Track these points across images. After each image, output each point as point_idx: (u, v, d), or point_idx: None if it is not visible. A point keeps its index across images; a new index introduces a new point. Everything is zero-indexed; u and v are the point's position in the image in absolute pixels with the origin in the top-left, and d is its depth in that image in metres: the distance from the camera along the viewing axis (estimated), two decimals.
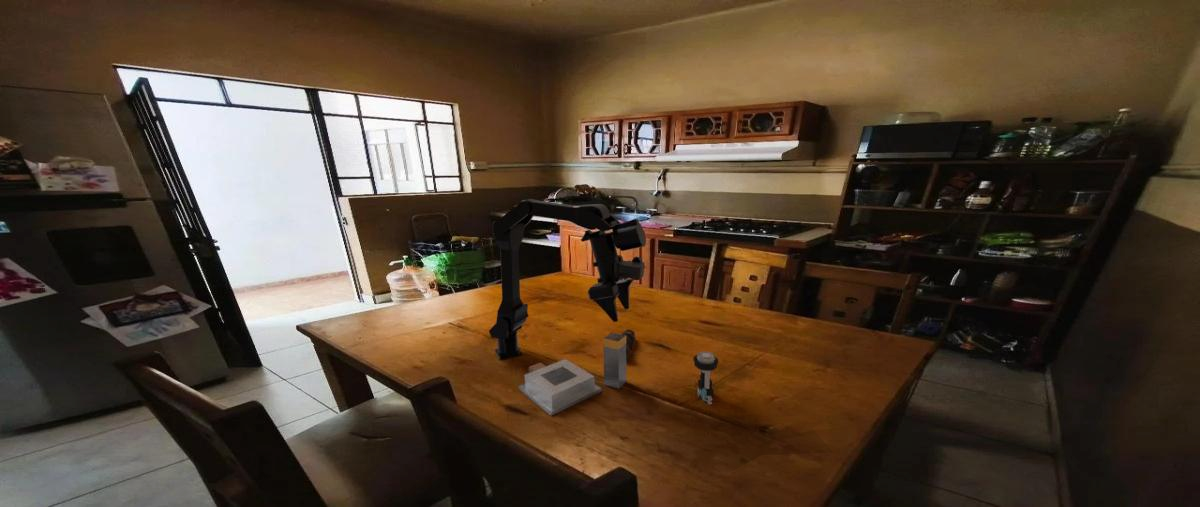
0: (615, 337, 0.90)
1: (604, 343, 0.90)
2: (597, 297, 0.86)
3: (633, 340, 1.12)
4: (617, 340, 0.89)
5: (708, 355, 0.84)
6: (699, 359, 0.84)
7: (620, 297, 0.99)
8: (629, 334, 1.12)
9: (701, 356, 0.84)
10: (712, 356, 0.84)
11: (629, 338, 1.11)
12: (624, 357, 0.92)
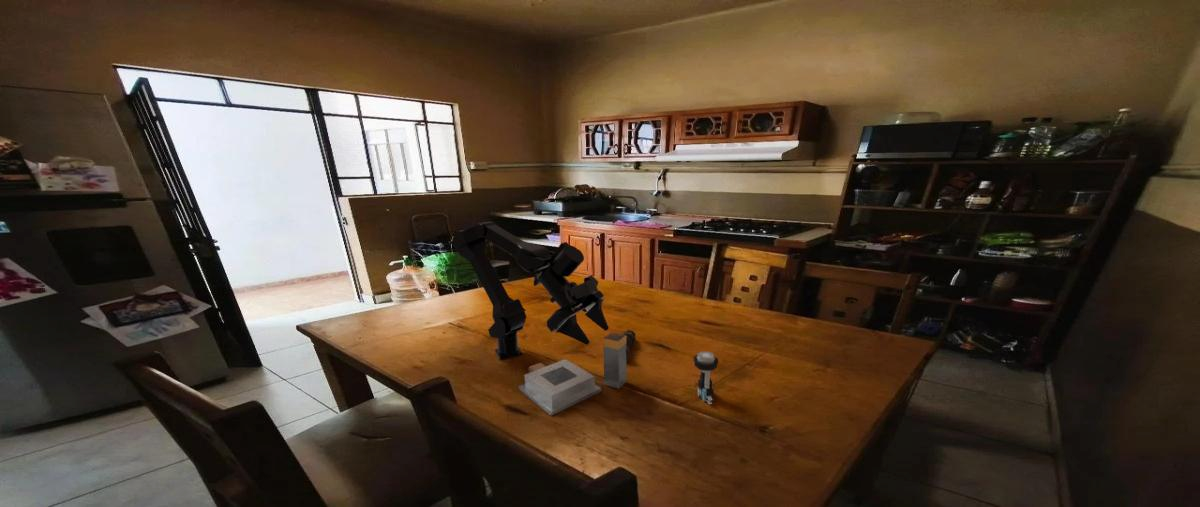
0: (615, 337, 0.90)
1: (604, 343, 0.90)
2: (554, 326, 0.87)
3: (633, 341, 1.11)
4: (617, 340, 0.89)
5: (708, 355, 0.84)
6: (699, 359, 0.84)
7: (597, 321, 0.98)
8: (629, 335, 1.11)
9: (701, 356, 0.84)
10: (712, 356, 0.84)
11: (629, 339, 1.10)
12: (624, 357, 0.92)
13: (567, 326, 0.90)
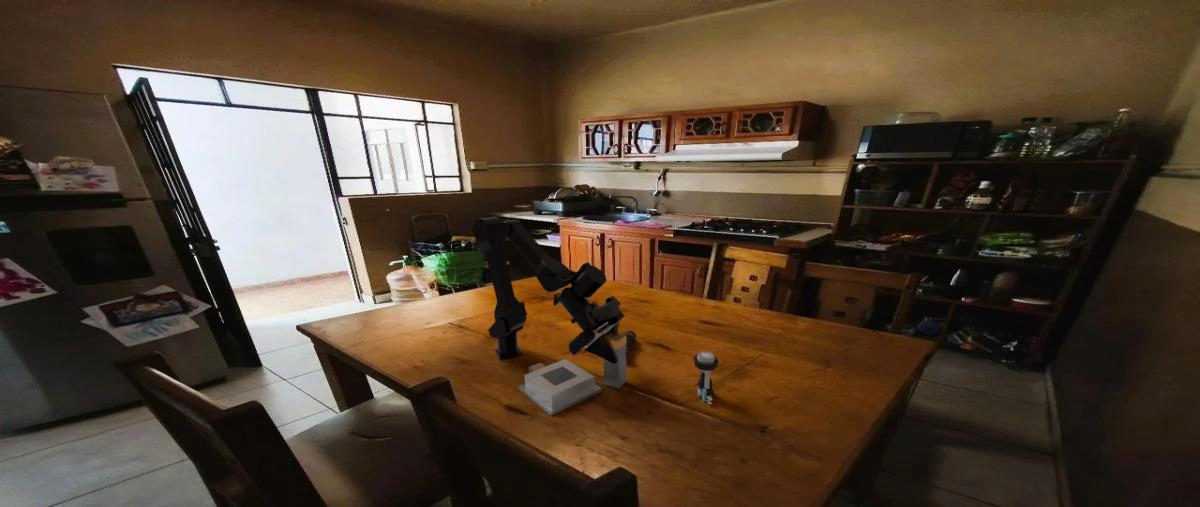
0: (615, 337, 0.90)
1: None
2: (577, 350, 0.85)
3: (634, 341, 1.11)
4: (617, 340, 0.89)
5: (708, 355, 0.84)
6: (699, 359, 0.84)
7: None
8: (630, 335, 1.11)
9: (701, 356, 0.84)
10: (712, 356, 0.84)
11: (630, 339, 1.10)
12: (624, 357, 0.92)
13: (594, 345, 0.90)
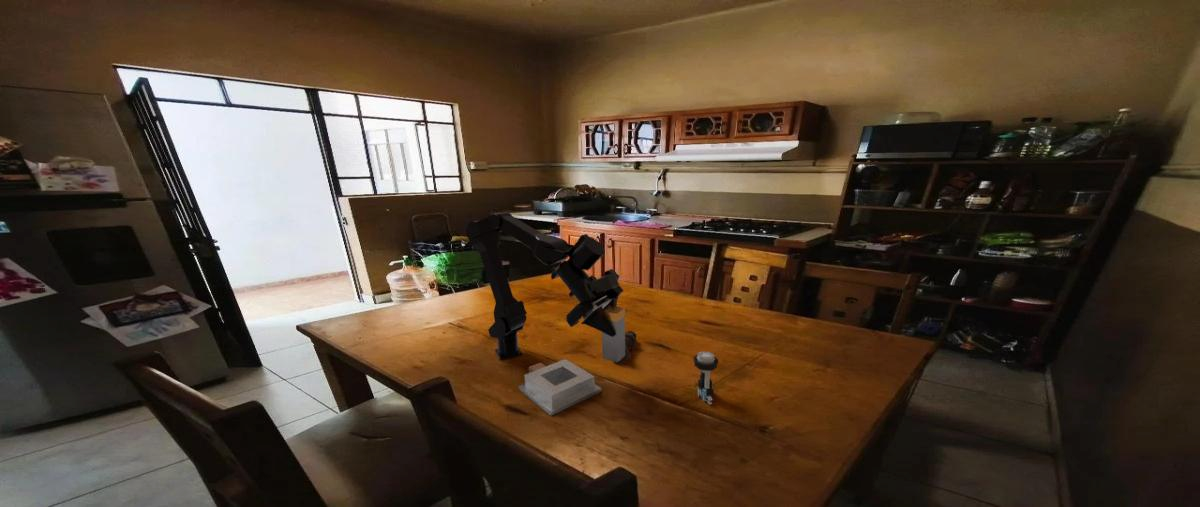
0: (614, 310, 0.89)
1: None
2: (574, 321, 0.84)
3: (634, 342, 1.11)
4: (616, 312, 0.87)
5: (708, 355, 0.84)
6: (699, 359, 0.84)
7: None
8: (630, 336, 1.11)
9: (701, 357, 0.84)
10: (712, 356, 0.84)
11: (630, 340, 1.10)
12: (623, 330, 0.90)
13: (593, 317, 0.88)
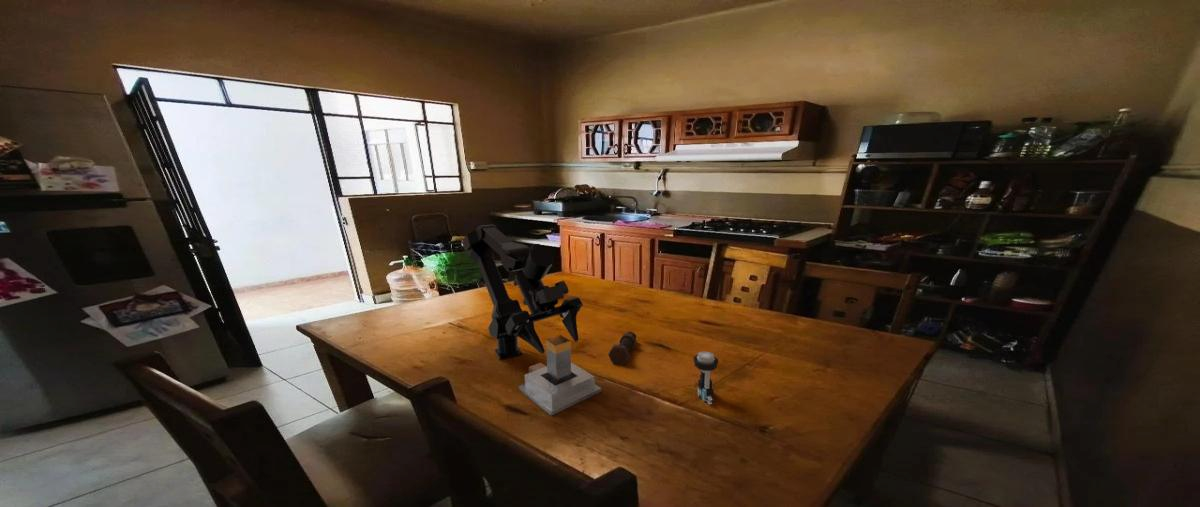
0: (557, 341, 0.87)
1: (546, 345, 0.88)
2: (510, 330, 0.85)
3: (633, 343, 1.10)
4: (556, 344, 0.85)
5: (708, 355, 0.84)
6: (699, 359, 0.84)
7: (569, 330, 0.92)
8: (630, 336, 1.10)
9: (701, 356, 0.84)
10: (712, 356, 0.84)
11: (629, 340, 1.09)
12: (567, 363, 0.88)
13: (526, 331, 0.86)
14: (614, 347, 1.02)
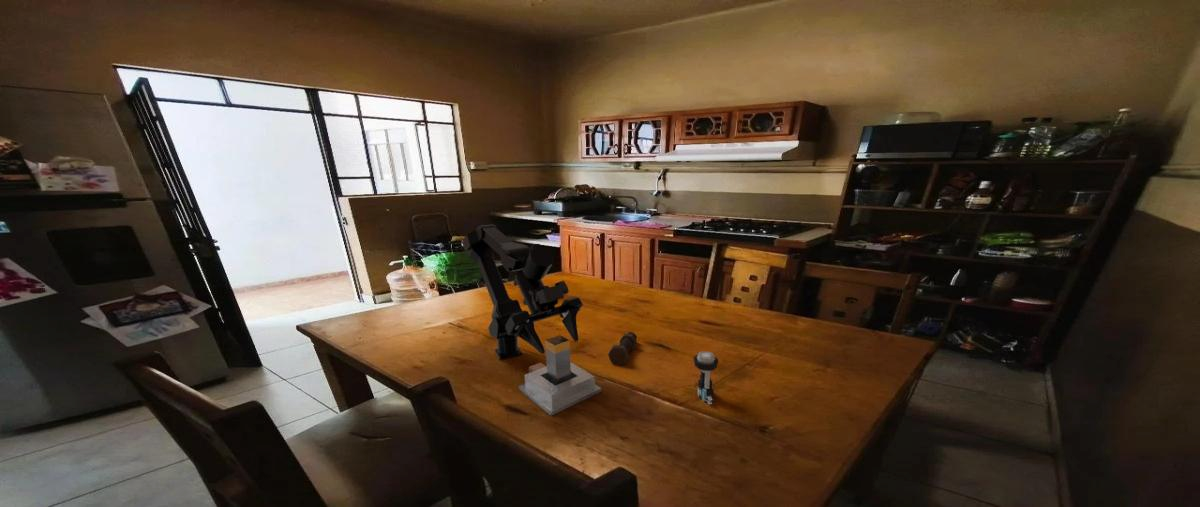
0: (557, 340, 0.87)
1: (546, 345, 0.88)
2: (510, 330, 0.85)
3: (634, 343, 1.10)
4: (555, 344, 0.86)
5: (708, 355, 0.84)
6: (699, 359, 0.84)
7: (569, 330, 0.92)
8: (630, 337, 1.10)
9: (701, 357, 0.84)
10: (712, 356, 0.84)
11: (629, 341, 1.09)
12: (567, 363, 0.88)
13: (526, 331, 0.86)
14: (614, 347, 1.02)
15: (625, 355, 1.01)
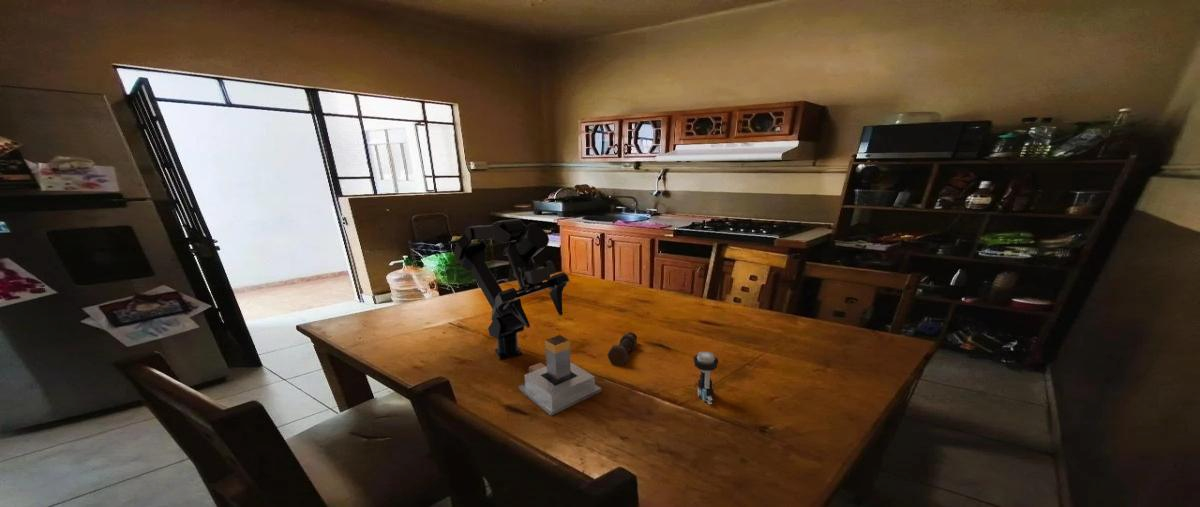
0: (557, 340, 0.87)
1: (546, 345, 0.88)
2: (498, 305, 0.92)
3: (634, 343, 1.10)
4: (555, 344, 0.86)
5: (708, 355, 0.84)
6: (699, 359, 0.84)
7: (555, 304, 0.99)
8: (630, 337, 1.10)
9: (701, 357, 0.84)
10: (712, 356, 0.84)
11: (629, 341, 1.09)
12: (567, 363, 0.88)
13: (514, 306, 0.93)
14: (613, 348, 1.02)
15: (624, 355, 1.01)
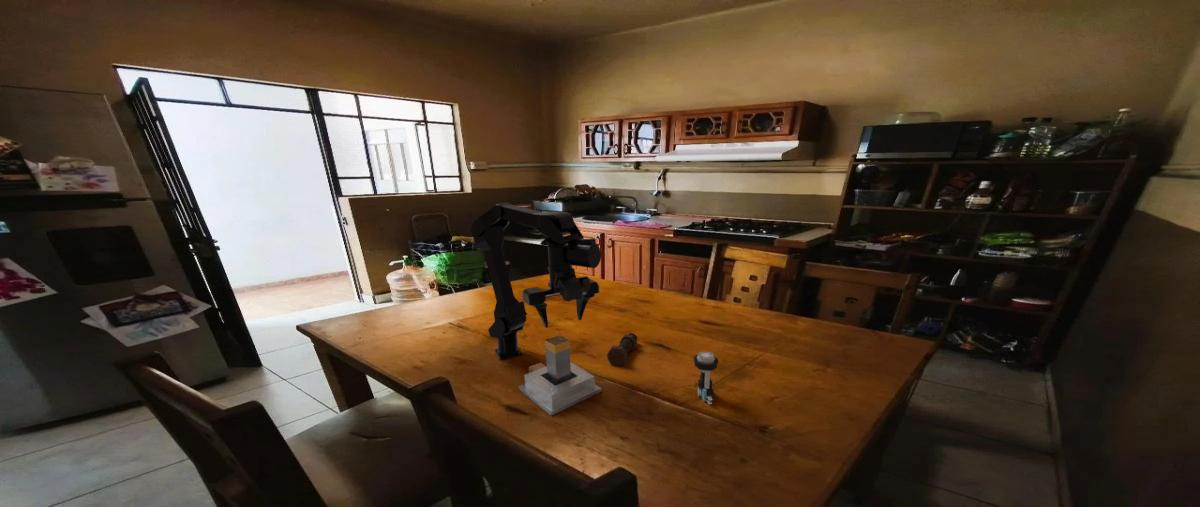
0: (557, 340, 0.87)
1: (546, 345, 0.88)
2: (525, 300, 0.92)
3: (634, 344, 1.09)
4: (555, 344, 0.86)
5: (708, 355, 0.84)
6: (699, 359, 0.84)
7: (577, 306, 0.99)
8: (630, 338, 1.09)
9: (701, 357, 0.84)
10: (712, 356, 0.84)
11: (629, 342, 1.08)
12: (567, 363, 0.88)
13: None
14: (612, 348, 1.01)
15: (623, 356, 1.00)
